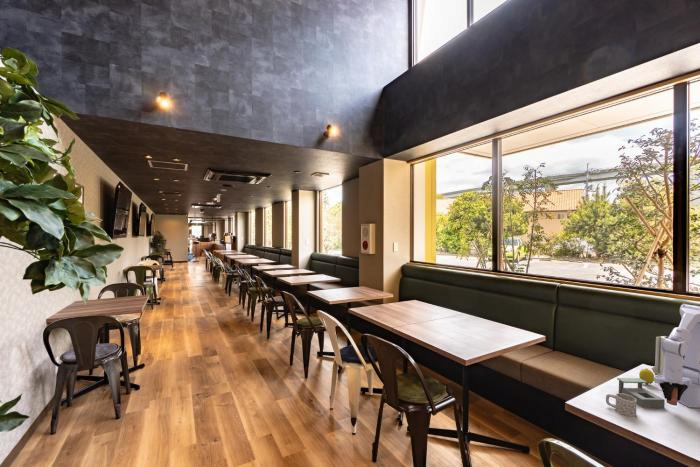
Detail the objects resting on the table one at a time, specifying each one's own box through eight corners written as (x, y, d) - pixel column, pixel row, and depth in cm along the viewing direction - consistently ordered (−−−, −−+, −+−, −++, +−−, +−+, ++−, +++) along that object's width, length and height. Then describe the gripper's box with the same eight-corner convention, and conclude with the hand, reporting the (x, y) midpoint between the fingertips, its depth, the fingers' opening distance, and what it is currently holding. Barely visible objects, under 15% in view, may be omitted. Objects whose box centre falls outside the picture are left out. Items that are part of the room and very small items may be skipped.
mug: (636, 412, 134) (637, 397, 134) (635, 419, 130) (636, 403, 130) (606, 403, 142) (607, 388, 141) (604, 409, 137) (604, 393, 137)
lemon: (656, 387, 157) (657, 371, 156) (643, 386, 158) (644, 370, 158) (648, 382, 162) (649, 366, 162) (636, 381, 163) (636, 365, 163)
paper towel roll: (677, 378, 166) (678, 338, 166) (673, 381, 163) (674, 340, 163) (658, 373, 173) (660, 334, 172) (654, 375, 170) (656, 336, 169)
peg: (671, 401, 137) (672, 385, 137) (679, 405, 134) (679, 389, 134) (664, 401, 137) (664, 385, 137) (671, 405, 134) (672, 389, 134)
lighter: (670, 385, 159) (670, 369, 159) (669, 386, 158) (670, 370, 157) (650, 380, 164) (651, 365, 164) (650, 381, 163) (650, 366, 163)
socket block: (639, 392, 151) (639, 378, 151) (665, 407, 139) (666, 391, 139) (616, 392, 151) (616, 377, 151) (640, 407, 139) (641, 391, 139)
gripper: (665, 372, 131) (664, 404, 132) (700, 372, 131) (699, 404, 132) (649, 364, 138) (648, 395, 139) (682, 365, 139) (681, 395, 139)
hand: (671, 399), depth 136 cm, fingers closed on peg, 3 cm apart
